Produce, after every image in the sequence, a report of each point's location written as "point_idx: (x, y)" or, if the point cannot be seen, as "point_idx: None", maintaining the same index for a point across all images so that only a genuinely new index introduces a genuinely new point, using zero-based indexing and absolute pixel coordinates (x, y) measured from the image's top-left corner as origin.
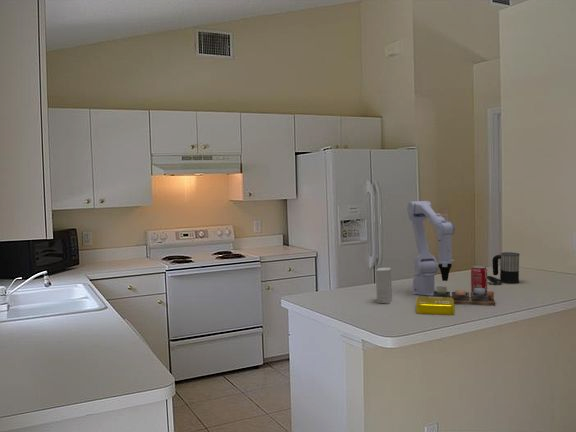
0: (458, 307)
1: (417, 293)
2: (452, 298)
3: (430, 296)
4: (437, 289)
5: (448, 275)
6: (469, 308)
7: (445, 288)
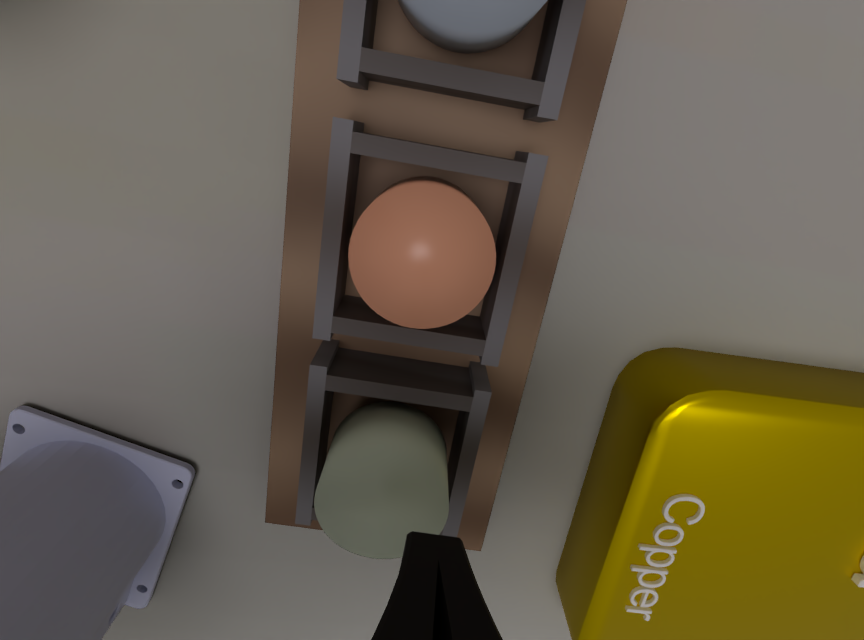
0: (682, 300)
1: (156, 578)
2: (724, 402)
3: None
4: None
5: (488, 617)
6: (745, 195)
7: (432, 469)
